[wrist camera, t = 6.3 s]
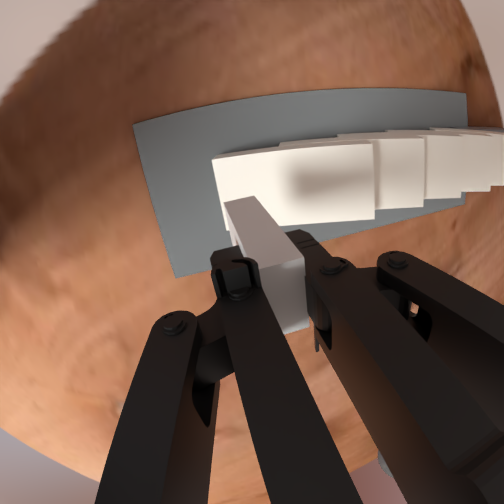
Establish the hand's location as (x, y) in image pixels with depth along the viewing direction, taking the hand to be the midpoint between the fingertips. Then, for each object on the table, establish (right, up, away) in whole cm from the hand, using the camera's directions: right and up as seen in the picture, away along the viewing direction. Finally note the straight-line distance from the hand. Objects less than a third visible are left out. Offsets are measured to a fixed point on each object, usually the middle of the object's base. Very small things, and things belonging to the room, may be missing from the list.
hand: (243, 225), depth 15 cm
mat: (+8, +6, +8) cm, 12 cm away
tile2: (+3, +4, +6) cm, 8 cm away
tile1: (-2, +3, +6) cm, 6 cm away
